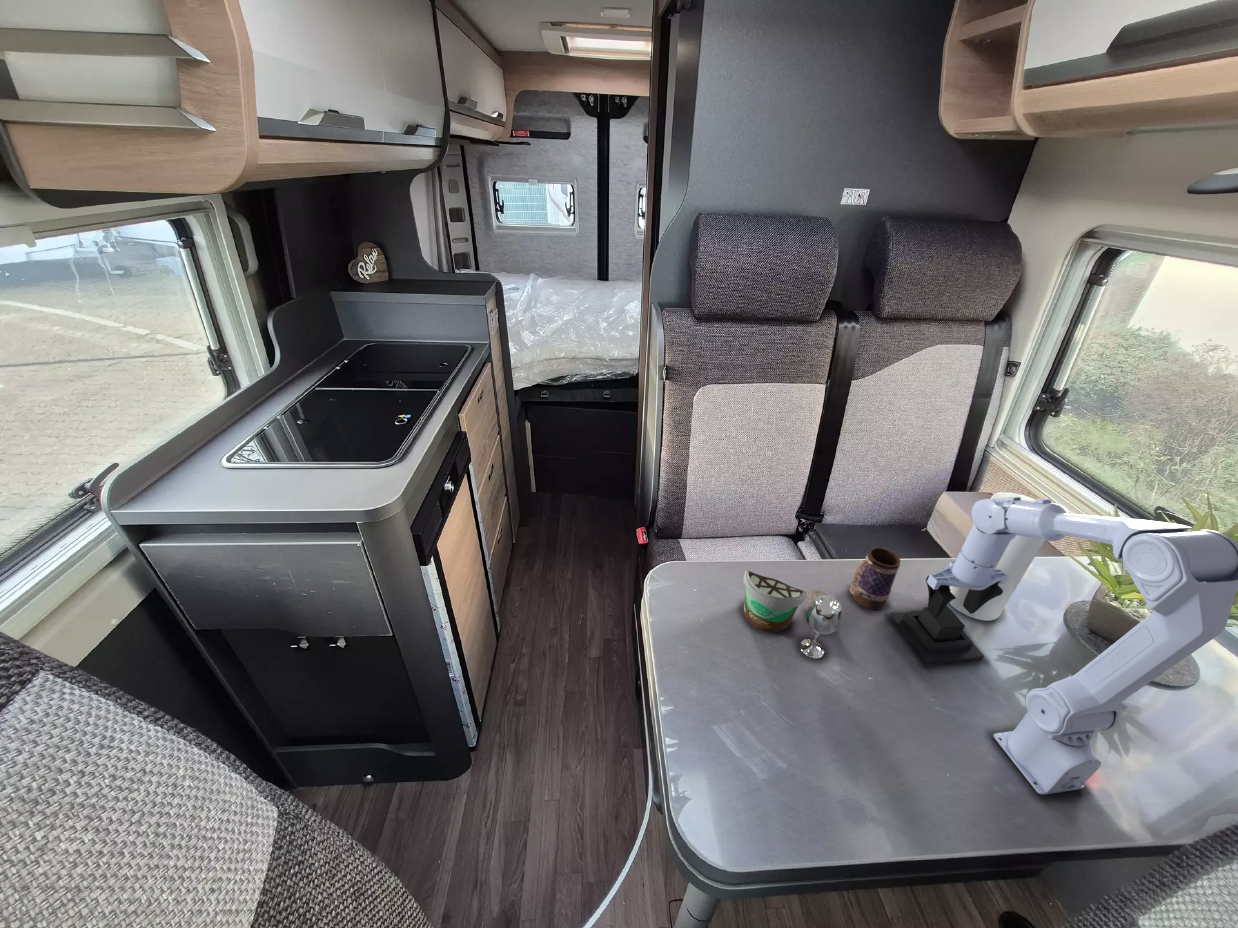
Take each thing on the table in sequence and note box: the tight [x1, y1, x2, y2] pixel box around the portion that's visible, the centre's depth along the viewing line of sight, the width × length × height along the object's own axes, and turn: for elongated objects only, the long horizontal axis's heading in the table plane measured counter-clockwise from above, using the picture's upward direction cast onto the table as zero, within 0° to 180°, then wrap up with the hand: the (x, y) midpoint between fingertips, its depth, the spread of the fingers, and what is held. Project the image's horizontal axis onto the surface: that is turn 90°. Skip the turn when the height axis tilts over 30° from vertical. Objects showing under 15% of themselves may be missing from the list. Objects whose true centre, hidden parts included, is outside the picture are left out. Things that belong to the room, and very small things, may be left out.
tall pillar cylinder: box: [948, 491, 1046, 622], centre depth 107 cm, size 11×11×25 cm
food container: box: [743, 567, 808, 633], centre depth 102 cm, size 12×6×10 cm, turn 62°
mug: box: [849, 546, 901, 610], centre depth 109 cm, size 10×7×12 cm
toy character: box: [806, 589, 827, 609], centre depth 106 cm, size 4×8×6 cm, turn 13°
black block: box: [917, 604, 966, 643], centre depth 102 cm, size 5×5×5 cm
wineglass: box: [799, 594, 843, 660], centre depth 97 cm, size 6×6×12 cm
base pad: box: [888, 610, 985, 666], centre depth 103 cm, size 12×12×3 cm
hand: (950, 611), depth 100 cm, fingers open, 7 cm apart
